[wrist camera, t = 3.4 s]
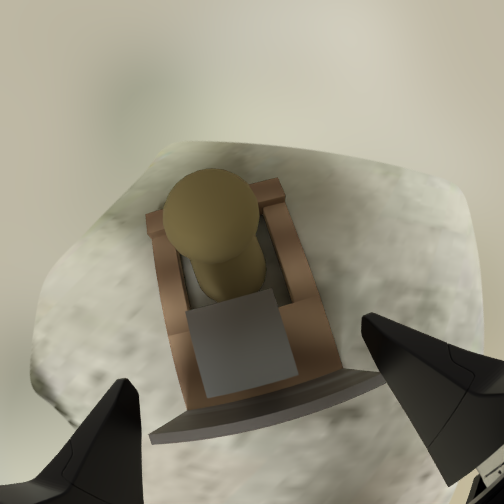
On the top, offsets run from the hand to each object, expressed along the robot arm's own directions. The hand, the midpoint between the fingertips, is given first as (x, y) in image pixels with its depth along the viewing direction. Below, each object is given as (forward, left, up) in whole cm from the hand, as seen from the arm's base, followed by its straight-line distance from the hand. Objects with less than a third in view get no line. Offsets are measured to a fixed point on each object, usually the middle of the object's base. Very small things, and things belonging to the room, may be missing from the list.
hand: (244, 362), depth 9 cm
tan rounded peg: (+6, +4, -12) cm, 15 cm away
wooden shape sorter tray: (+4, +2, -12) cm, 13 cm away
